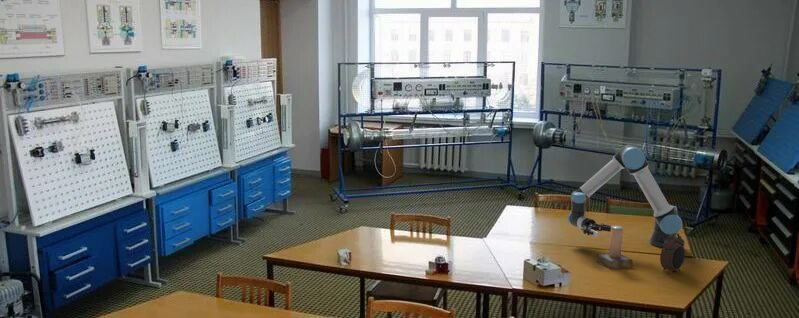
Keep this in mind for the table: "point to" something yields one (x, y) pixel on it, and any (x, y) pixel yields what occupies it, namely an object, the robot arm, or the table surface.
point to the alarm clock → (673, 253)
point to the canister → (615, 242)
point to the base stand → (614, 261)
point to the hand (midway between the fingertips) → (608, 234)
